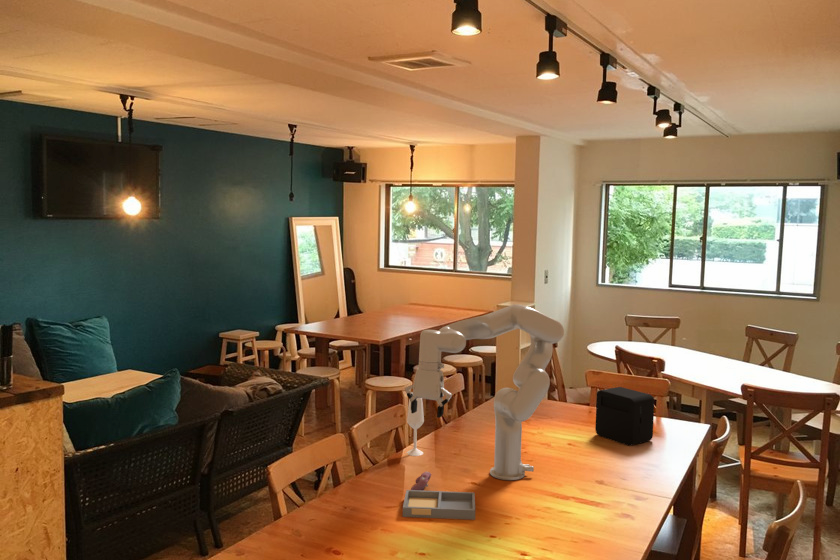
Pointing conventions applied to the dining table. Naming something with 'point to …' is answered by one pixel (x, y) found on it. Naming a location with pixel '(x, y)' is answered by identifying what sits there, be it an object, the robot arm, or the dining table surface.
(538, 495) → the dining table surface
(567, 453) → the dining table surface
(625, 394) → the air purifier
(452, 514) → the tray
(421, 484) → the purple-brown lumpy piece
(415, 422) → the champagne flute
